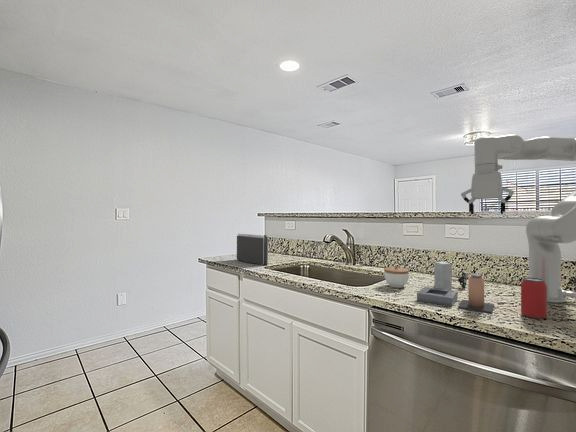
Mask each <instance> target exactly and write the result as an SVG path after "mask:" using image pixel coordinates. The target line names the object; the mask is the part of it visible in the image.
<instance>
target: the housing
mask: <svg viewBox="0 0 576 432" xmlns="http://www.w3.org/2000/svg"><path fill="white" fill-rule="evenodd" d="M457 300H458V290H453V289H452V290H446V289H438V288H434V287H431V286H423V288H421V289H420V290H419V291H418V292H417V293H416V301H417V302H422V303H428V304H434V305H442V306H448V307H453V306H454V305H455V303H456V302H457ZM453 304H454V305H453Z"/></svg>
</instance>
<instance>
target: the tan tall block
mask: <svg viewBox="0 0 576 432" xmlns="http://www.w3.org/2000/svg"><path fill="white" fill-rule="evenodd" d="M467 281H468V283H467V284H468V285H467V286H468V290H467V291H468V295H467V296H468V297H467V299H468V300H467V301H468V305H470V306H472V307H479V308H482V307H484V303H485V277H483V276H482V275H481V274H477V273H476V274H475V273H472V274H470V275H469V276H468V277H467Z"/></svg>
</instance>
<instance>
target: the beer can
mask: <svg viewBox="0 0 576 432" xmlns="http://www.w3.org/2000/svg"><path fill="white" fill-rule="evenodd" d="M520 283H521V284H520V313H521V315H523V316H525V317H527V318H531V319H537V320H539V319H540V320H541V319H547V317H548V302H547V286H546V283H545V280H543V279H540V278H532V277H529V276H528V277H527V276H526V277H525V276H524V277H523V278H522V281H521V282H520Z"/></svg>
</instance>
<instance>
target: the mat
mask: <svg viewBox="0 0 576 432" xmlns="http://www.w3.org/2000/svg"><path fill="white" fill-rule="evenodd" d="M494 307H495V304H494V303H486V302H484V307H482V308H479V307H472V306H470V305H468V300H466V299H461V301H460V303H459V304H458V306H457V309H461V310H466V311H467V310H468V311H473V312H479V313H486V314H493V311H494Z"/></svg>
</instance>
